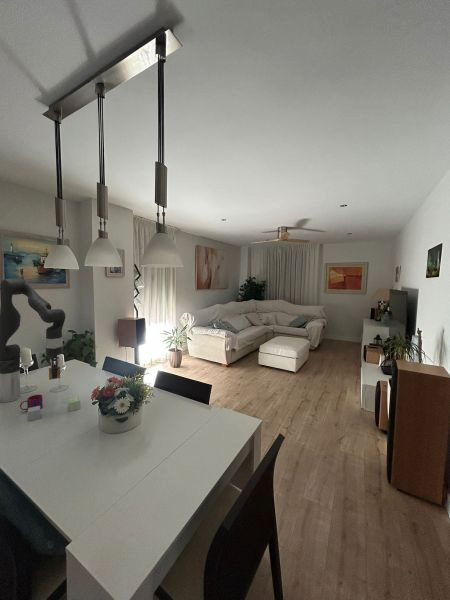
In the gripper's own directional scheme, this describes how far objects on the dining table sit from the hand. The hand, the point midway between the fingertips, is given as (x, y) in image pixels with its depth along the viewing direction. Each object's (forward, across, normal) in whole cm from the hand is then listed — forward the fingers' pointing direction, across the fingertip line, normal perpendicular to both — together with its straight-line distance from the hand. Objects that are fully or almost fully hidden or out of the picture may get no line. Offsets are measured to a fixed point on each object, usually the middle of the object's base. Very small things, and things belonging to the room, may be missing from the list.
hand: (54, 376), depth 131 cm
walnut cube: (+1, 0, 0) cm, 1 cm away
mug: (+21, -11, -11) cm, 26 cm away
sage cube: (+21, 0, +9) cm, 23 cm away
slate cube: (+21, 0, -9) cm, 23 cm away
